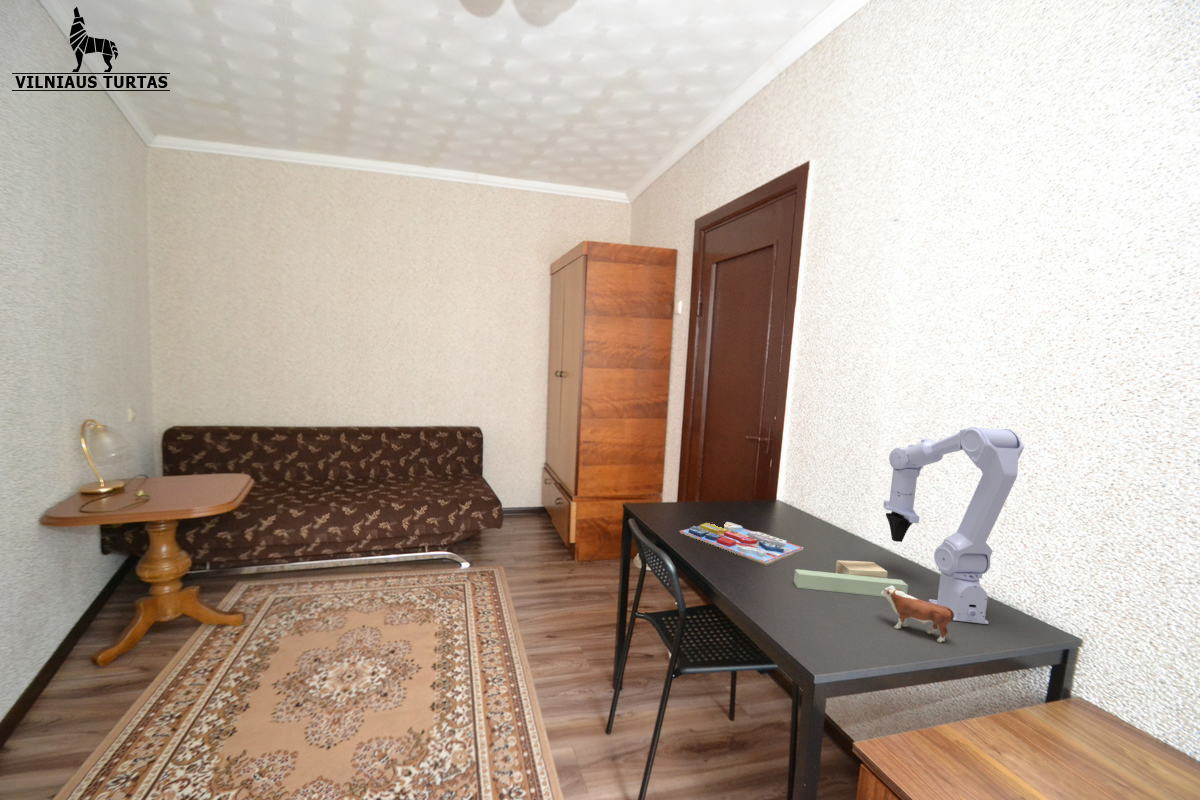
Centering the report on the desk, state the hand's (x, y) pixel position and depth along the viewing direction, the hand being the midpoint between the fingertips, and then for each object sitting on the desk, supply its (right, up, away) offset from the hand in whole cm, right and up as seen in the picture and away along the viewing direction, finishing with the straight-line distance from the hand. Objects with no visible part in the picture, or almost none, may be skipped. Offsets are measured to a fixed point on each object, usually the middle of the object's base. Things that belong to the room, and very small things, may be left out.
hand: (896, 540), depth 136 cm
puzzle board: (-38, -6, +19) cm, 43 cm away
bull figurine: (-15, -11, -30) cm, 35 cm away
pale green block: (-19, -9, -12) cm, 25 cm away
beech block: (-14, -9, -8) cm, 18 cm away
